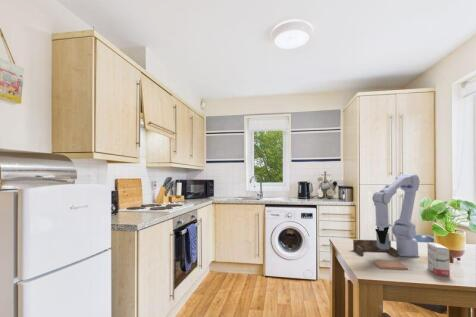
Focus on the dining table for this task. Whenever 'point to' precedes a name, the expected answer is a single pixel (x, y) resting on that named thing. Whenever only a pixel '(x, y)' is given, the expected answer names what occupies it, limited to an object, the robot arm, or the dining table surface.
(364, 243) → the wooden u-shaped rack
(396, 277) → the dining table surface
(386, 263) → the tile
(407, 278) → the dining table surface
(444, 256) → the ink box
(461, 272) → the dining table surface
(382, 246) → the block
